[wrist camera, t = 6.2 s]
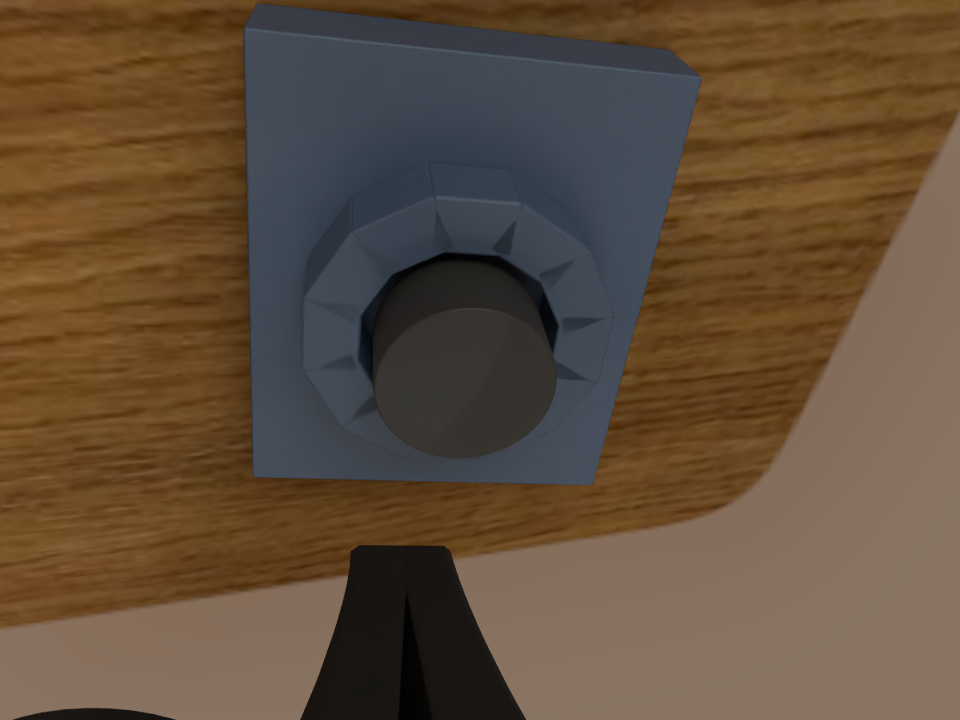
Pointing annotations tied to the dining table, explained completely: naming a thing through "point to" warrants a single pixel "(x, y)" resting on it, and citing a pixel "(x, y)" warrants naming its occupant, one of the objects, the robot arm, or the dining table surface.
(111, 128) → the dining table surface
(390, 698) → the robot arm
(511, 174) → the block
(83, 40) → the dining table surface
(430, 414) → the button
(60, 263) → the dining table surface
